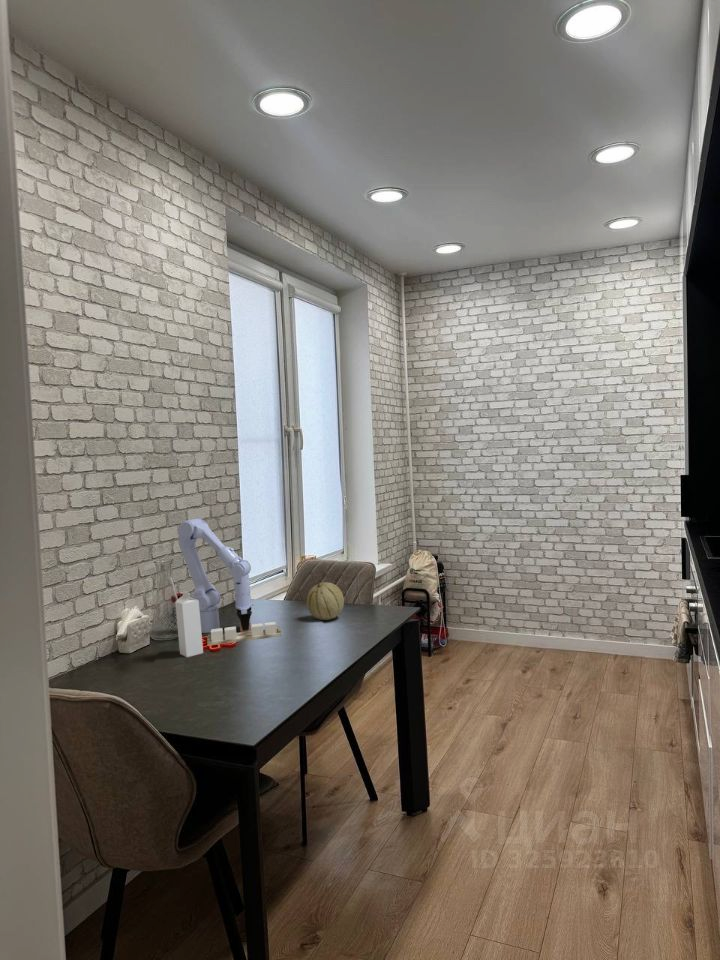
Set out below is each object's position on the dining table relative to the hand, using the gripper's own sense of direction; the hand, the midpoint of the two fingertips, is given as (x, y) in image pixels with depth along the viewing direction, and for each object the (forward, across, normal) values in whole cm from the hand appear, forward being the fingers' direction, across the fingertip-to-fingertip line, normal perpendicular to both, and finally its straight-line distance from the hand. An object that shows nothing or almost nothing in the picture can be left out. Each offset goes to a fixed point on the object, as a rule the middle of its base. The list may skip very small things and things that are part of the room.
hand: (245, 628), depth 255 cm
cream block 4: (+1, -10, -9) cm, 14 cm away
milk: (+2, -22, +19) cm, 29 cm away
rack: (+1, -10, +1) cm, 11 cm away
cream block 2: (+1, -10, +5) cm, 12 cm away
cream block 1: (+1, -10, +10) cm, 15 cm away
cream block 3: (+1, -10, -4) cm, 11 cm away
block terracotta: (+1, 0, 0) cm, 1 cm away
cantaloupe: (+2, +4, -31) cm, 32 cm away
